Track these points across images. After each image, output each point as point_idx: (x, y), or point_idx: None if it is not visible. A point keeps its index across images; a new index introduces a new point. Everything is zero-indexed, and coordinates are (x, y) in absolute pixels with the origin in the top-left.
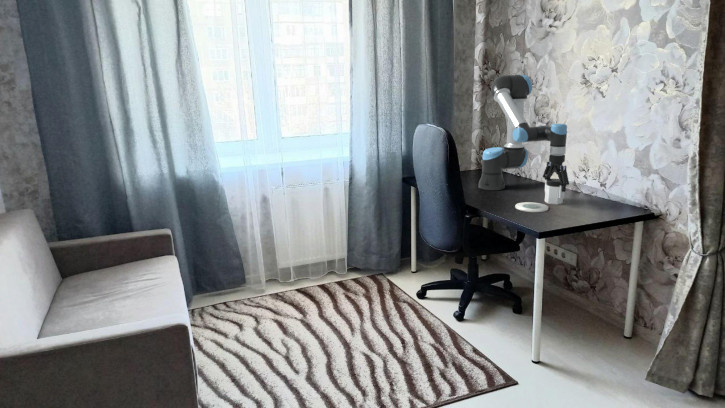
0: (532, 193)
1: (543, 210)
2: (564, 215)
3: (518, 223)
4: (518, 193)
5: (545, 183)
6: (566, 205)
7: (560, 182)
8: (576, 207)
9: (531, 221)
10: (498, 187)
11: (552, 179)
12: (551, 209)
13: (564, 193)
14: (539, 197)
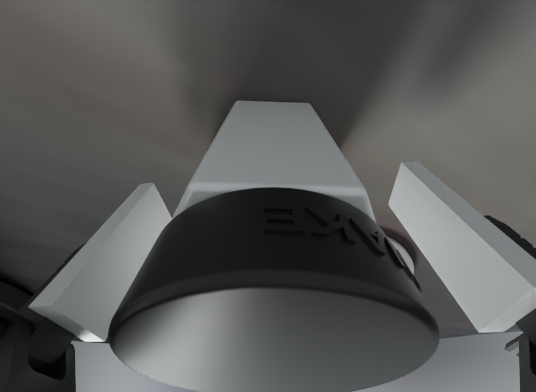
0: (23, 188)
1: (413, 269)
2: (529, 216)
3: (458, 335)
4: (59, 248)
5: (125, 290)
6: (379, 104)
7: (525, 390)
8: (480, 43)
9: None
10: (13, 304)
11: (204, 372)
12: (401, 227)
13: (444, 191)
14: (134, 188)
